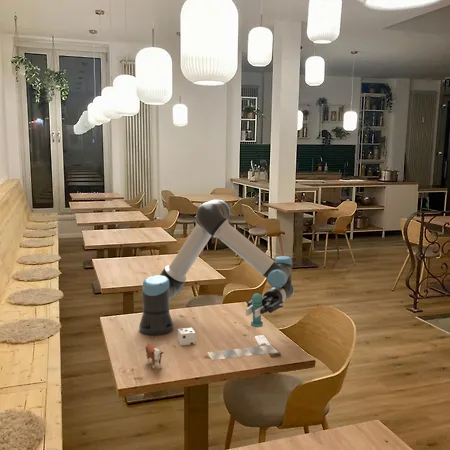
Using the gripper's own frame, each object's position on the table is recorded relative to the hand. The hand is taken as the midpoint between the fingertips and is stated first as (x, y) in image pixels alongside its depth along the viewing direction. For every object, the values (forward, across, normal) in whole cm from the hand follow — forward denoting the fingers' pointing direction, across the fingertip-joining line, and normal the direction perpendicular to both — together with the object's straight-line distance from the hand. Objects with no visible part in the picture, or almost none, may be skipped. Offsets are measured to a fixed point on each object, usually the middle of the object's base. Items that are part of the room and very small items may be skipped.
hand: (251, 313), depth 189 cm
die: (0, +29, -18) cm, 34 cm away
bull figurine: (+24, +28, -18) cm, 41 cm away
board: (-2, +4, -18) cm, 19 cm away
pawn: (-5, 0, -7) cm, 9 cm away
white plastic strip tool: (-17, +2, -19) cm, 25 cm away
